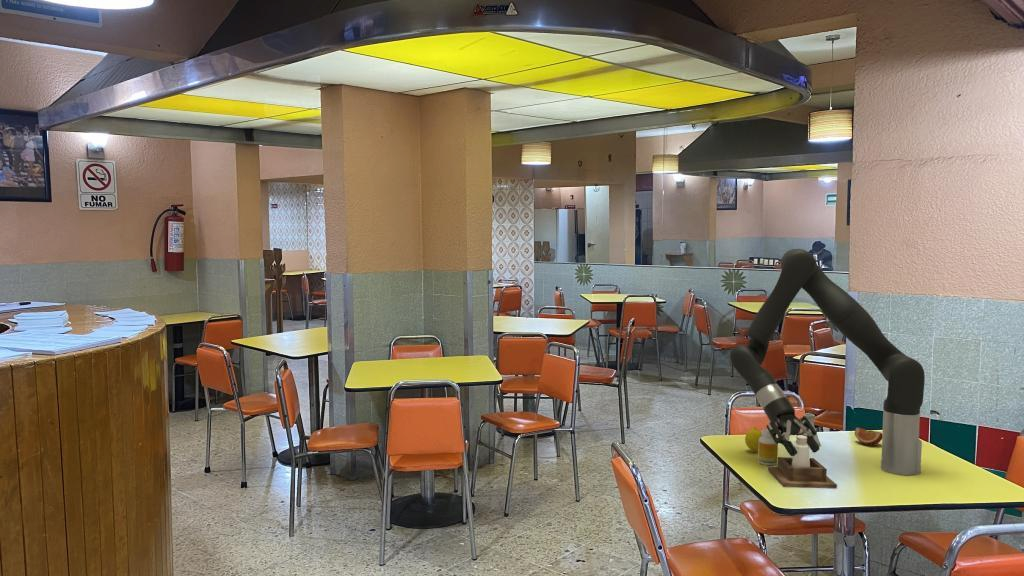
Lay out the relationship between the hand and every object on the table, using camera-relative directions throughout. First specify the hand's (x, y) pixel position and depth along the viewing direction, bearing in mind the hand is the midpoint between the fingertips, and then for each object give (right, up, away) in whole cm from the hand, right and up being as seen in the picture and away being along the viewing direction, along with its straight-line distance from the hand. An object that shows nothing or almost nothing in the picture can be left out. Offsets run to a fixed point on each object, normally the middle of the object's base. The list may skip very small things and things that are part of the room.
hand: (805, 453), depth 194 cm
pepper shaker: (-1, -7, +2) cm, 7 cm away
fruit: (-5, -6, +27) cm, 28 cm away
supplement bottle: (-5, -7, +16) cm, 18 cm away
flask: (+16, -6, +36) cm, 39 cm away
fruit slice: (+36, -6, +36) cm, 51 cm away
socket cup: (-1, -8, +2) cm, 8 cm away
